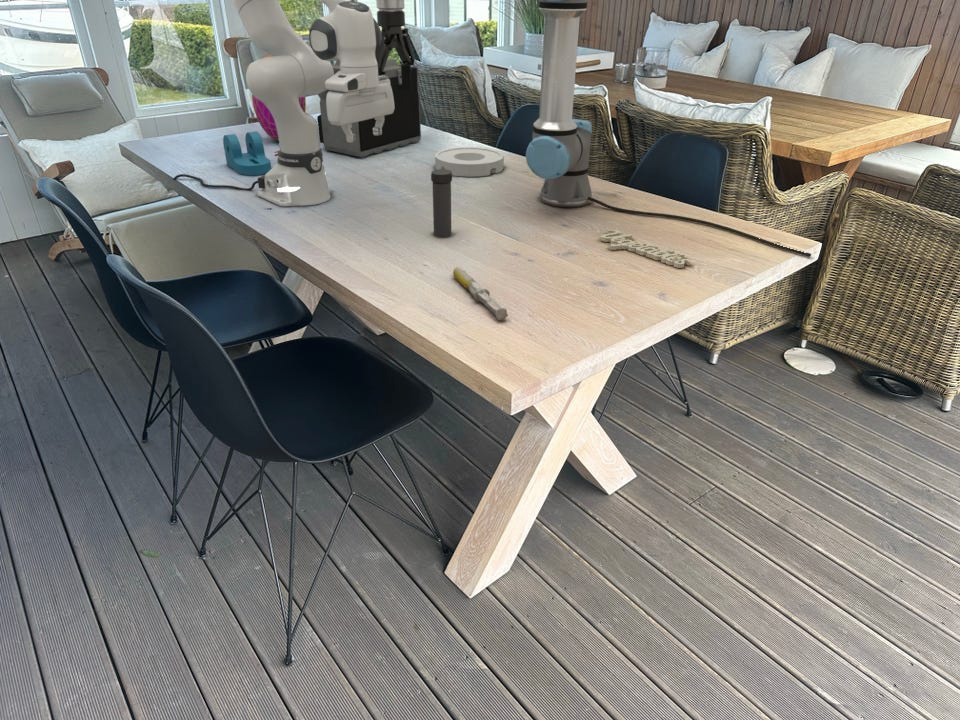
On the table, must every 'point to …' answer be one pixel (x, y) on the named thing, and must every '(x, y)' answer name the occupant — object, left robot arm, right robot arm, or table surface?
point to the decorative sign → (644, 249)
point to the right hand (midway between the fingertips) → (394, 93)
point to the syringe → (479, 293)
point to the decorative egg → (269, 115)
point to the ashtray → (469, 161)
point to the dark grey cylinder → (442, 209)
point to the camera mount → (246, 154)
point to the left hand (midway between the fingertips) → (364, 138)
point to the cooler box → (395, 128)
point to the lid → (441, 176)
